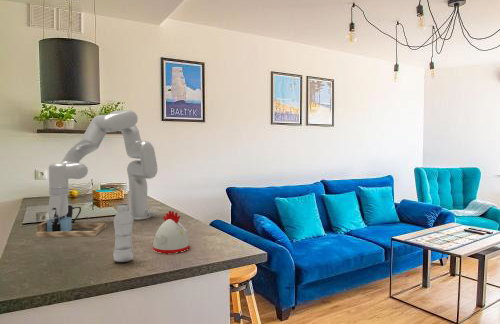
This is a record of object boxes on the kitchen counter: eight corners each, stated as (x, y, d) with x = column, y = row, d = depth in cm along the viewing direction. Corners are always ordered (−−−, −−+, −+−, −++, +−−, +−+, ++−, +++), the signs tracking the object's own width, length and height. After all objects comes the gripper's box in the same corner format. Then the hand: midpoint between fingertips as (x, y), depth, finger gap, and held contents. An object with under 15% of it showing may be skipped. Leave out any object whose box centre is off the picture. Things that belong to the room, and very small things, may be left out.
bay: (105, 229, 170) (105, 217, 170) (95, 238, 154) (95, 224, 154) (52, 230, 168) (52, 217, 167) (36, 239, 152) (35, 225, 151)
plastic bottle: (116, 258, 129) (115, 203, 127) (135, 258, 129) (135, 203, 128) (110, 264, 122) (110, 206, 121) (131, 264, 123) (130, 206, 122)
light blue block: (71, 230, 164) (71, 216, 163) (66, 233, 158) (66, 219, 157) (53, 230, 163) (52, 216, 162) (47, 233, 157) (47, 219, 156)
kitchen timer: (171, 256, 132) (171, 216, 131) (145, 250, 139) (145, 212, 138) (196, 247, 143) (196, 210, 143) (171, 242, 151) (171, 206, 150)
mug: (80, 226, 176) (80, 207, 176) (53, 228, 172) (52, 208, 171) (81, 222, 184) (81, 204, 183) (55, 224, 179) (54, 205, 179)
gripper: (58, 188, 167) (58, 226, 168) (40, 194, 150) (41, 236, 151) (75, 188, 168) (75, 226, 169) (59, 194, 151) (60, 236, 152)
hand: (59, 230), depth 160 cm, fingers open, 6 cm apart
